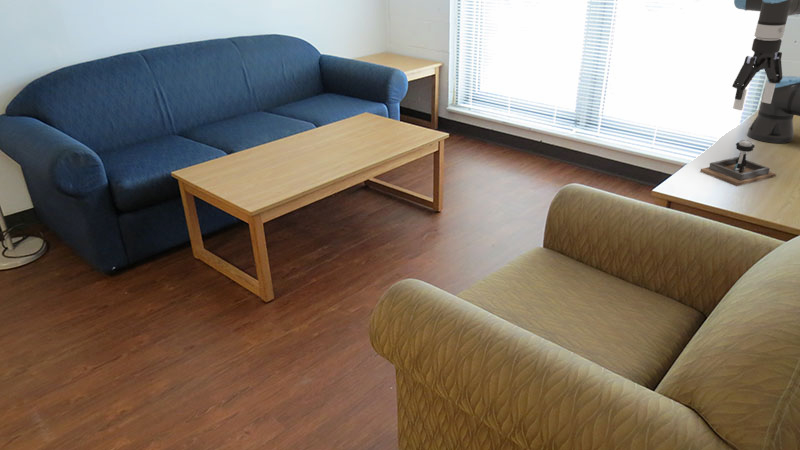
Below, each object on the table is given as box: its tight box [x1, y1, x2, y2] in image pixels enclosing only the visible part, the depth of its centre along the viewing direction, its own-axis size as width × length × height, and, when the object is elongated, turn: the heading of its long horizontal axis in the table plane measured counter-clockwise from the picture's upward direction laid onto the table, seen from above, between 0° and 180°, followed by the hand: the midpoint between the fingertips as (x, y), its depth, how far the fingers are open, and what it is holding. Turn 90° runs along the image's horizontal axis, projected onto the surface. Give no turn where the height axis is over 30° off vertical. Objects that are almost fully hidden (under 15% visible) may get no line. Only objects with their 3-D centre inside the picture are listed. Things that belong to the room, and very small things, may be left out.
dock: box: [699, 156, 777, 187], centre depth 197 cm, size 18×14×3 cm
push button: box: [734, 139, 756, 173], centre depth 195 cm, size 7×5×10 cm
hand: (752, 106), depth 192 cm, fingers open, 13 cm apart
